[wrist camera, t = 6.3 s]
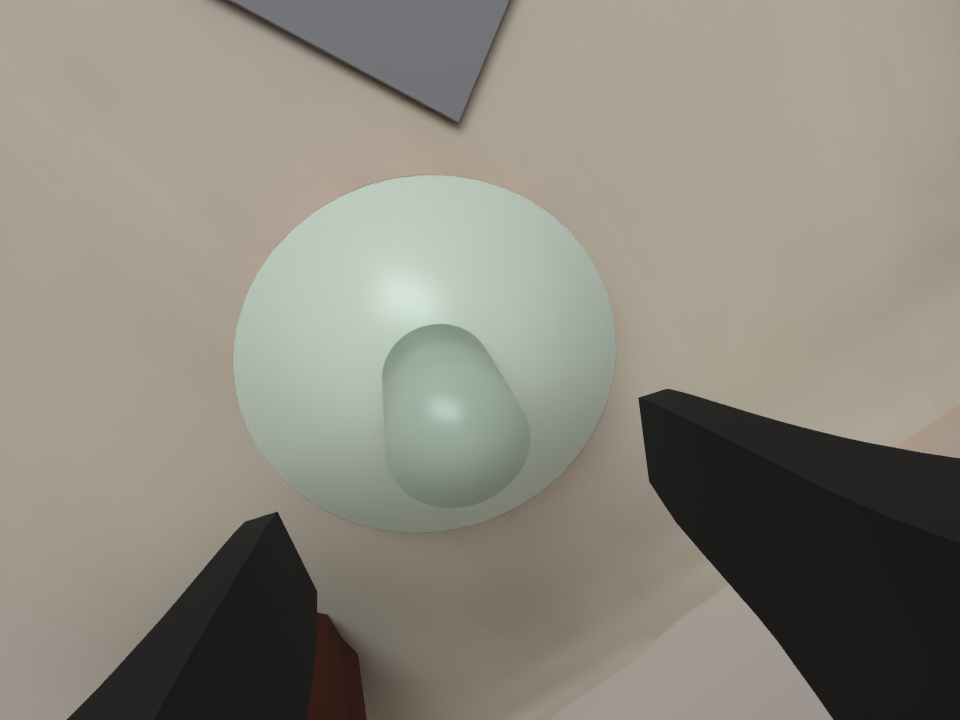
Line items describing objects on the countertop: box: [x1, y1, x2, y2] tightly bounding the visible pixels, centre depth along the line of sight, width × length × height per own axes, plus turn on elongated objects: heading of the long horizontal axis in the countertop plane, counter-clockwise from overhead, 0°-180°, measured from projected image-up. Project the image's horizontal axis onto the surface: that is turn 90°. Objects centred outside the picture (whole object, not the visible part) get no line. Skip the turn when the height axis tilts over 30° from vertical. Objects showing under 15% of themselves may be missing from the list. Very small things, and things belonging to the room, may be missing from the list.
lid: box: [234, 175, 616, 533], centre depth 13 cm, size 11×11×5 cm
